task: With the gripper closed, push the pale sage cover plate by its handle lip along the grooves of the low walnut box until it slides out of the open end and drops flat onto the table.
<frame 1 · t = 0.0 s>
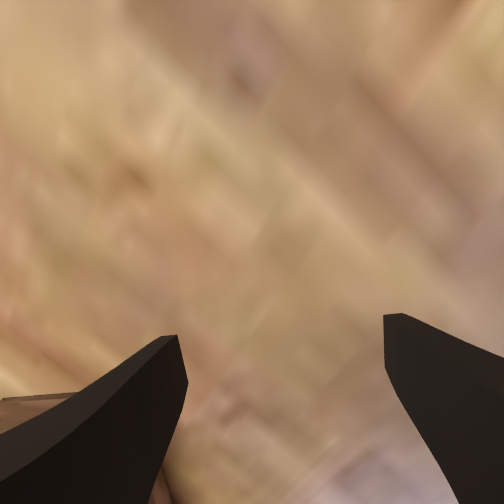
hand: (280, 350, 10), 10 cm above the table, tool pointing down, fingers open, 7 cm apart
groove box: (93, 459, 26), on the table
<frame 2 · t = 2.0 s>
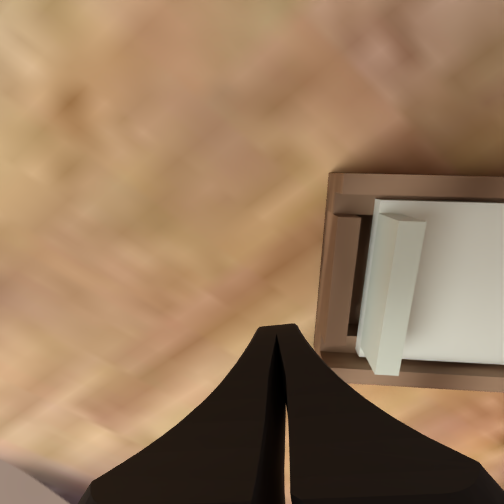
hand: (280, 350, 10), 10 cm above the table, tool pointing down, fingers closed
cover plate: (461, 283, 17), point 2 cm above the table, touching groove box
groove box: (428, 270, 19), on the table
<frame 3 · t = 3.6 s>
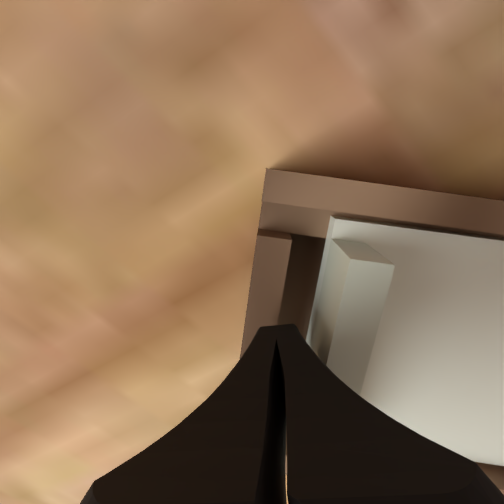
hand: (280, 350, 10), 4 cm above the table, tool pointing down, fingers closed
cover plate: (442, 346, 12), point 2 cm above the table, touching gripper, groove box
groove box: (393, 317, 14), on the table
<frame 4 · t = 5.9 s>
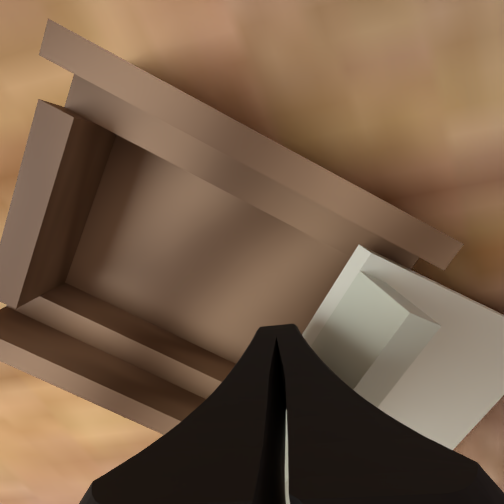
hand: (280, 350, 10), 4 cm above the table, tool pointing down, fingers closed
cover plate: (394, 377, 13), point 1 cm above the table, tilted 15°, touching gripper
groove box: (209, 266, 14), on the table
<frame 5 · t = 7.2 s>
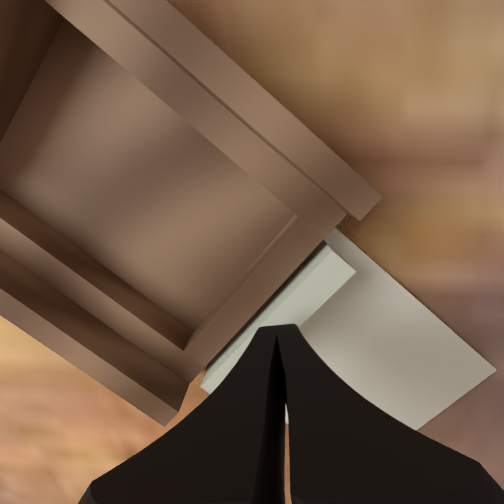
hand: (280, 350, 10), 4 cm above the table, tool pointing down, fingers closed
cover plate: (342, 355, 15), on the table
groove box: (143, 193, 13), on the table
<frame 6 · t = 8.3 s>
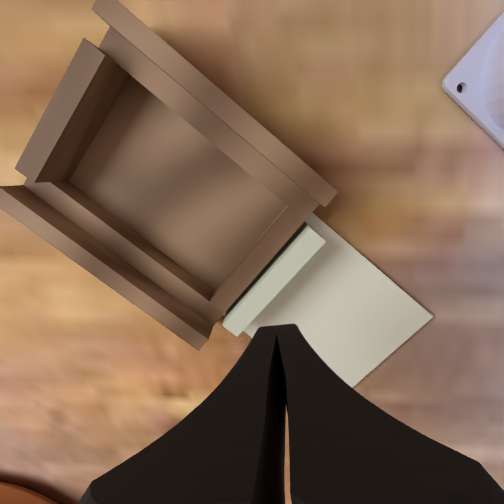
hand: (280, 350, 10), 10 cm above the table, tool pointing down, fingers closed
cover plate: (323, 310, 21), on the table
groove box: (179, 192, 19), on the table
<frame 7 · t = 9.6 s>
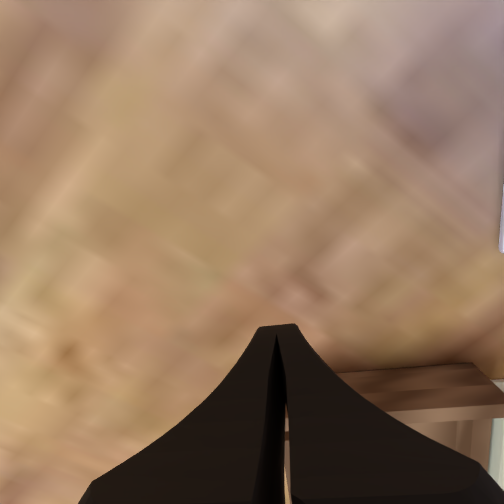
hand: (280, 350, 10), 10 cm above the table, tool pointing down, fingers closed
groove box: (373, 435, 23), on the table
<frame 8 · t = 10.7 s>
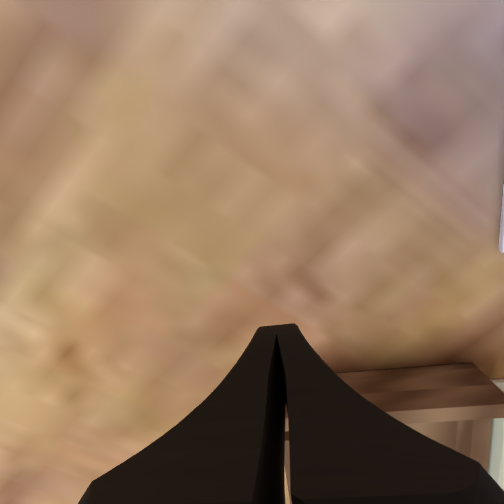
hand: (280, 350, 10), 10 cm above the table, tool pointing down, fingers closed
groove box: (373, 435, 23), on the table
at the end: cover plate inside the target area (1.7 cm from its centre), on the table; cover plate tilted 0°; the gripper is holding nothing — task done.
